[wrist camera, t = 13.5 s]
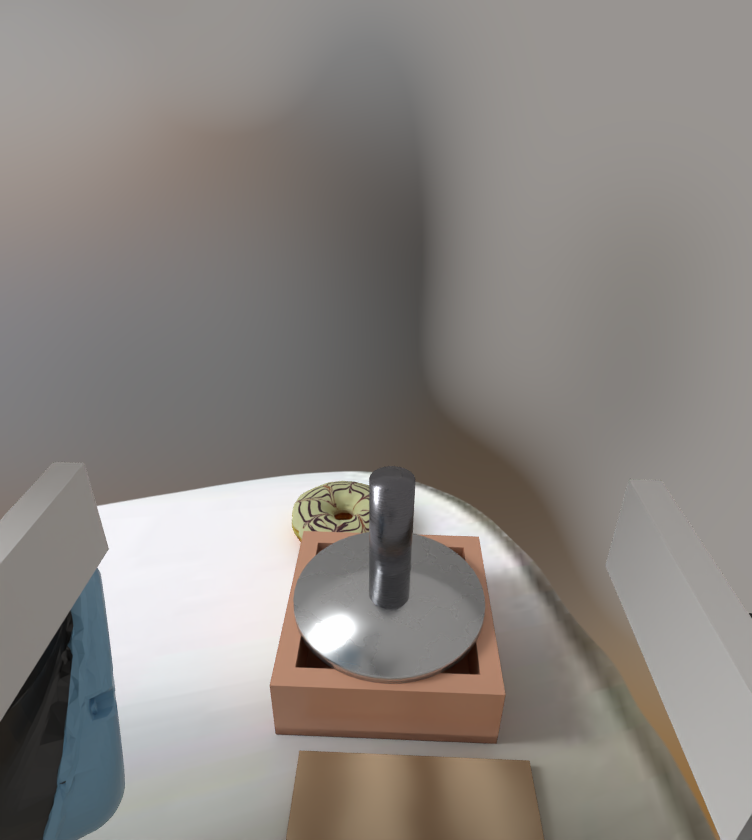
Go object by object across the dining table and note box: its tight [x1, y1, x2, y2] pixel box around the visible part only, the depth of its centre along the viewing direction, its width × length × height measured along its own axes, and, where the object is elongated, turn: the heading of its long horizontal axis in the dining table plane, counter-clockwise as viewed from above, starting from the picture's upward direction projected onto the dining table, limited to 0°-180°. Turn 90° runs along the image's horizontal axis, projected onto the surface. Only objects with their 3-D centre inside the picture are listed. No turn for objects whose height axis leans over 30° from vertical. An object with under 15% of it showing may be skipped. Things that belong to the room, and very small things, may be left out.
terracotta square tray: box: [270, 531, 505, 744], centre depth 48 cm, size 16×16×6 cm
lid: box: [293, 466, 485, 684], centre depth 44 cm, size 15×15×12 cm
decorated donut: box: [292, 481, 369, 542], centre depth 62 cm, size 10×11×4 cm
